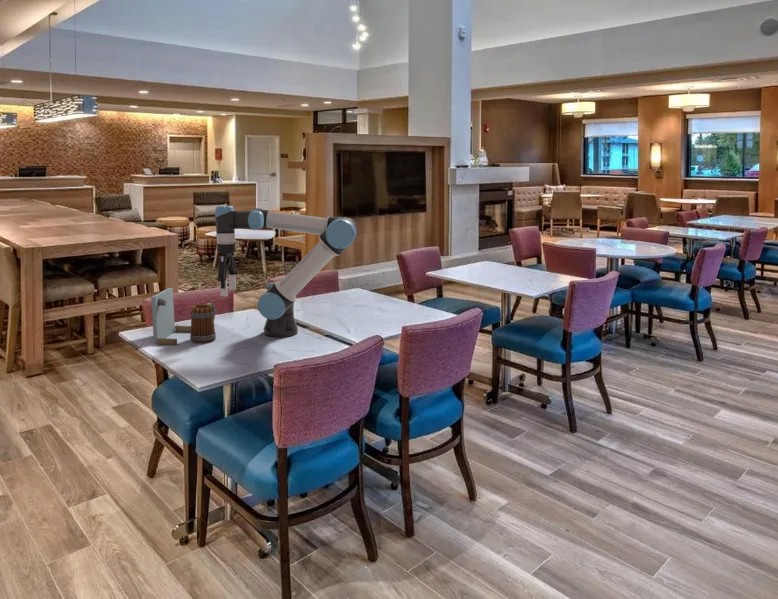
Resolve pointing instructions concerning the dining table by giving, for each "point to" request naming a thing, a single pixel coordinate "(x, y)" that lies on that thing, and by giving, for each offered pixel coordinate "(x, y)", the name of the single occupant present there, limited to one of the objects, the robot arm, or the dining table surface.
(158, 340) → the tan support feet
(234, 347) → the dining table surface
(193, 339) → the mug
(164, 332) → the door
